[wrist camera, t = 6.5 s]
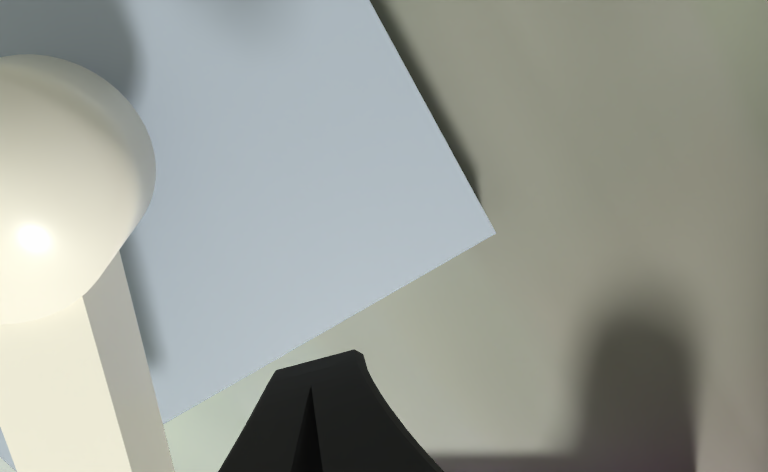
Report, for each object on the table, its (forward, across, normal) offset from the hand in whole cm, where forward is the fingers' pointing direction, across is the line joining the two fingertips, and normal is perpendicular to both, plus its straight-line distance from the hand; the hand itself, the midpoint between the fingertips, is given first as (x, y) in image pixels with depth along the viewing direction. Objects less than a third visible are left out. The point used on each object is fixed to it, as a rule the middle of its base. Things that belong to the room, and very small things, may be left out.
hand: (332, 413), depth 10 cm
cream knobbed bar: (+5, +5, -1) cm, 7 cm away
